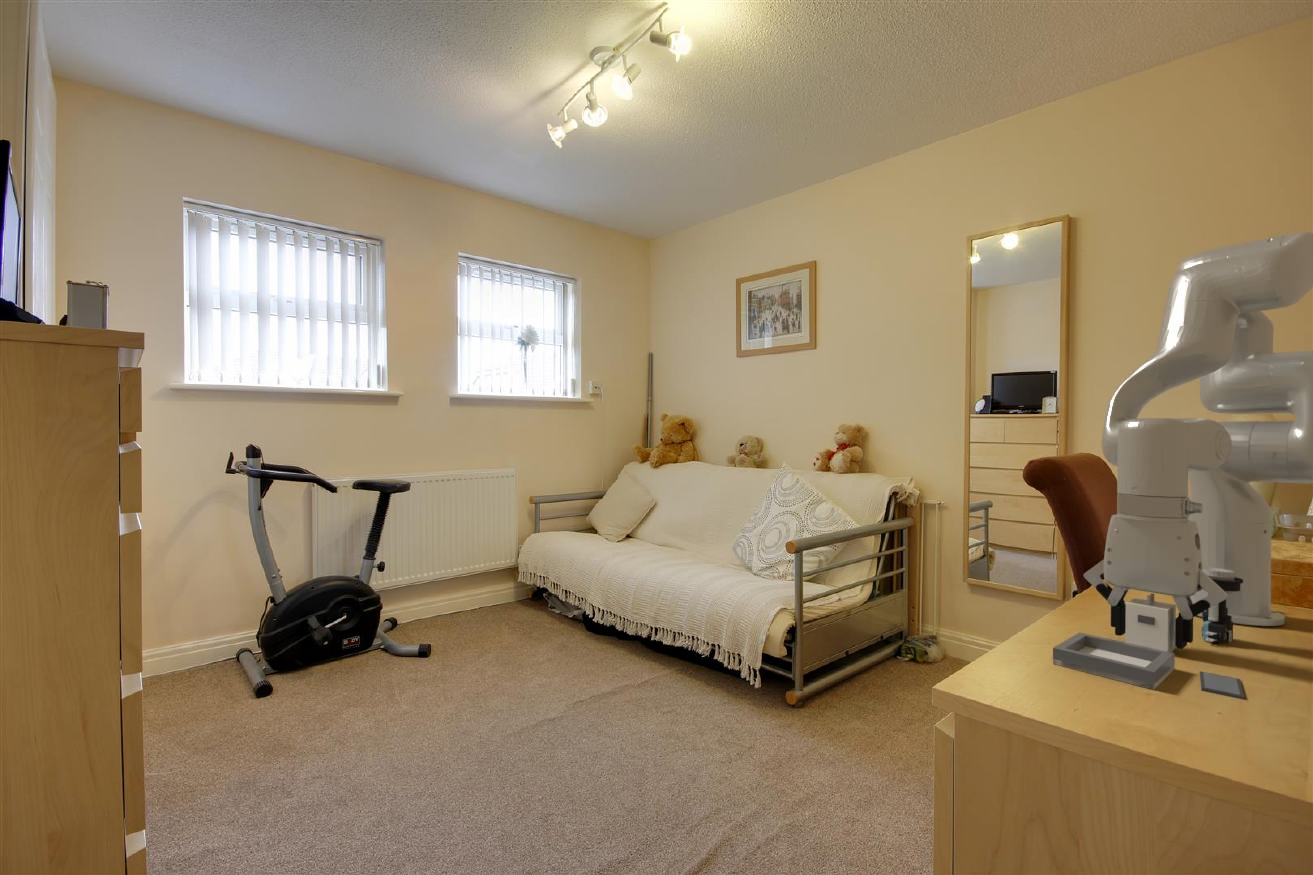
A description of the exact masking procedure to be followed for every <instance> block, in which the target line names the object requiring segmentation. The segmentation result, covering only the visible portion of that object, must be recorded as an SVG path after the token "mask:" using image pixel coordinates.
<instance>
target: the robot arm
mask: <svg viewBox="0 0 1313 875" xmlns="http://www.w3.org/2000/svg"><path fill="white" fill-rule="evenodd" d="M1312 289H1313V232H1311V231H1299V232H1298V231H1297V232H1293V233H1292V232H1291V233H1286V234H1283V235H1275V236H1272V237H1267V238H1262V239H1257V240H1252V241H1248V242H1242V243H1236V244H1232V245H1226V246H1221V247H1217V248H1212V249H1208V250H1204V251H1202V252H1198V253H1195V254H1193V255H1190V256H1188V257H1186V258H1185V259H1183V260H1182V261H1181V262H1180V263H1179V264H1178V265H1177V267H1176V270H1175V276H1174V277H1173V278H1172V280H1171V282H1170V284H1169V286H1168V289H1167V290H1168V291H1167V294H1166V300H1165V306H1164V310H1163V315H1162V321H1161V324H1160V325H1161V326H1160V330H1159V335H1158V339H1157V345H1156V349H1155V352H1154V354H1153V355H1152V356H1151V357H1150V358H1148V359H1147V360H1145V362H1143V363H1142V364H1140V365H1139V366H1138V367H1137V368H1136V369H1134V370H1133V371H1132V372H1131V373H1130V374H1128V375H1129V376H1127V378H1125V379H1124V380H1123V381H1122V383H1121V384H1120V385H1119V386H1118V387H1117V388H1116V389H1115V391H1114V392H1113V394H1112V396H1111V398H1110V400H1109V401H1108V402H1109V403H1108V407H1107V410H1106V414H1105V420H1104V423H1103V429H1102V433H1101V434H1102V435H1101V450H1102V454H1103V456H1104V458H1105V460H1106V461H1107V462H1108V463H1109V464H1111V465H1112V466H1115V467H1116V468H1117V474H1116V475H1117V480H1116V481H1117V482H1116V483H1117V486H1116V494H1117V496H1116V514H1112V515H1111V517H1110V520H1109V524H1108V529H1107V535H1106V540H1105V549H1104V557H1103V559H1102V560H1100V561H1099V562H1098V563H1097V564H1095V565H1094V566H1093V567H1091V568H1090V569H1088V570H1087V571H1086V572H1085V573H1083V577H1084V579H1085V580H1086V581H1087V582H1088V583H1089V584H1090V585H1092V586H1093V587H1094V588H1095V589H1096V591H1097V593H1099V594H1100V595H1101V597H1103V598H1104V599H1105V600H1106V603H1107V604H1108V605H1109V606H1110V626H1111V627H1112V628H1114V635H1115V636H1119V637H1121V636H1123V635H1125V628H1126V601H1125V600H1124V599H1125V597H1126V596H1127V593H1129V590H1132V591H1133V590H1134V591H1141V592H1148V593H1151V594H1158V595H1165V596H1171V597H1172V599H1173V601H1174V604H1175V605H1176V608H1177V609H1178V616H1176V620H1175V648H1177V649H1180V650H1184V648H1185V647H1187V646H1188V644H1189V643H1190V644H1191V643H1193V641H1194V617H1195V618H1196V616H1197V617H1201V618H1202V612H1204V611H1206V610H1207V609H1209V608H1210V607H1212V606H1214V605H1216V604H1218V603H1220V602H1222V601H1224V600H1225V599H1226V607H1227V608H1228V615H1230V616H1231V617H1232V618H1231V621H1233V624H1237V625H1238V624H1239V625H1244V626H1258V627H1259V626H1260V627H1278V626H1283V625H1284V624H1285V621H1286V617H1285V616H1284V615H1283V614H1282V613H1280V612H1278V611H1275V610H1272V609H1271V607H1272V606H1271V601H1272V599H1271V598H1272V595H1271V594H1272V593H1271V592H1272V582H1271V581H1272V523H1273V522H1272V518H1273V517H1272V510H1271V507H1270V505H1269V503H1268V502H1267V500H1265V498H1264V497H1263V496H1262V495H1261V494H1260V493H1259V492H1258V491H1257V490H1256V489H1255V488H1254V487H1253V486H1252V485H1251V484H1250V483H1251V482H1254V483H1255V482H1258V483H1259V482H1265V483H1266V482H1267V483H1285V484H1287V483H1289V484H1313V350H1297V351H1283V352H1274V348H1273V347H1274V331H1275V330H1274V325H1273V323H1272V320H1270V318H1269V317H1268V316H1267V315H1266V314H1265V313H1264V312H1263V311H1269V310H1270V311H1271V310H1277V309H1283V308H1288V307H1291V306H1293V305H1295V304H1296V303H1298V302H1299V301H1301V300H1302V299H1303V298H1304V297H1305V295H1306V294H1308V293H1309V292H1310V291H1311V290H1312ZM1196 379H1200V381H1199V382H1200V383H1199V394H1200V396H1199V397H1200V401H1201V404H1202V406H1203V407H1204V408H1205V409H1206V410H1208V411H1210V412H1211V413H1212V412H1213V413H1217V414H1225V415H1226V414H1228V415H1229V414H1230V415H1244V414H1245V415H1252V414H1253V415H1254V414H1257V415H1258V414H1262V415H1263V414H1290V415H1294V416H1295V420H1272V421H1271V420H1267V421H1266V420H1265V421H1263V420H1262V421H1259V420H1253V421H1252V420H1250V421H1249V420H1245V421H1242V420H1241V421H1239V420H1238V421H1236V420H1234V421H1233V420H1232V421H1215V420H1213V419H1209V418H1203V417H1200V418H1199V417H1198V418H1197V417H1194V418H1193V417H1192V418H1191V417H1189V418H1187V417H1186V418H1183V417H1182V418H1181V417H1178V418H1170V417H1169V418H1167V417H1166V418H1164V417H1163V418H1162V417H1159V418H1158V417H1149V418H1138V416H1139V415H1140V413H1141V412H1142V410H1143V408H1145V406H1147V405H1148V404H1149V403H1150V402H1151V401H1153V400H1154V399H1155V398H1157V397H1158V396H1160V395H1162V394H1164V393H1166V392H1168V391H1169V390H1172V389H1175V388H1177V387H1179V386H1183V385H1184V384H1187V383H1190V382H1192V381H1194V380H1196ZM1189 484H1190V485H1189ZM1189 486H1190V496H1189ZM1189 517H1190V520H1189ZM1203 567H1211V568H1221V569H1227V570H1231V571H1234V576H1236V577H1237V578H1240V579H1243V583H1241V584H1240V591H1236V592H1234V593H1233V594H1227V593H1226V592H1225V591H1224V590H1223V589H1222V588H1221V587H1219V586H1218V585H1217V584H1216V583H1215V582H1214V581H1213V580H1212V579H1211V578H1210V577H1209V576H1208V575H1206V574H1205V573H1204V572H1203ZM1101 575H1103V578H1104V580H1105V581H1104V580H1103V579H1102V578H1101ZM1111 585H1112V586H1113V588H1112V587H1111ZM1202 587H1203V588H1204V589H1205V590H1206V591H1205V590H1202Z"/></svg>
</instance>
